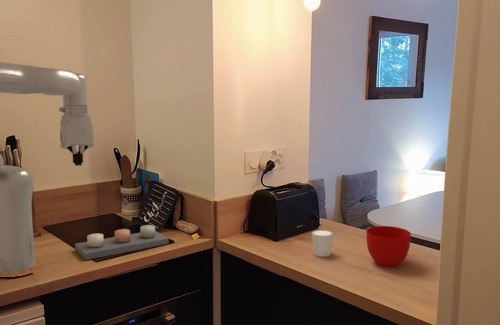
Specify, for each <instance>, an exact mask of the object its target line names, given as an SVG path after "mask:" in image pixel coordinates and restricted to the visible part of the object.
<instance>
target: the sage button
mask: <svg viewBox="0 0 500 325" xmlns="http://www.w3.org/2000/svg"><path fill="white" fill-rule="evenodd" d="M139 229H140V230H139V231H140V232H139V233H140V235H141V237H145V238H148V237H153V236H155V231H156V226H155V225H152V224H145V225H141V226H140V228H139Z"/></svg>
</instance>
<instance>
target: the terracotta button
mask: <svg viewBox="0 0 500 325" xmlns="http://www.w3.org/2000/svg"><path fill="white" fill-rule="evenodd" d="M130 234H131V230H130V229H127V228H122V229H116V230H115V231H114V237H115V241H116V242H126V241H129V240H130Z"/></svg>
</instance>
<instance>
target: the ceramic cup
mask: <svg viewBox="0 0 500 325" xmlns="http://www.w3.org/2000/svg"><path fill="white" fill-rule="evenodd" d="M365 231H366V235H365V236H366V245H367V246H366V247H367V250H368V253H369V255H370V256H371V258H372V260H373V261H374V262H375V263H376V265H378V266H381V267H384V268H396V267H397V266H399V265H400V264H401V263H402V262H403V261H404V260H405V259H406V257H407V256H408V253H409V250H410V245H411V239H412V233H411V232H410V231H409V230H408V229H405V228H402V227H396V226H391V225H378V226H377V225H376V226H375V225H374V226H371V227H368V228H367V229H366V230H365Z"/></svg>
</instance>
